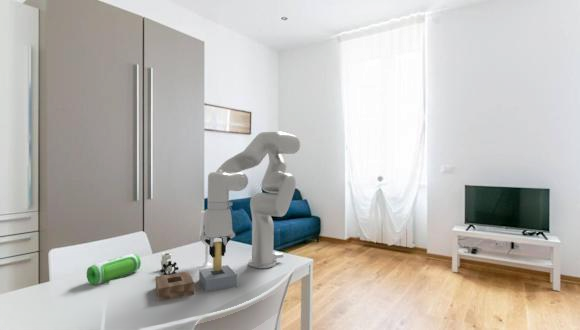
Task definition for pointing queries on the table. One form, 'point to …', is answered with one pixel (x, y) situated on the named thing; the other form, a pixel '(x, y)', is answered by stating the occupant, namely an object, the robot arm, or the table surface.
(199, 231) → the champagne flute
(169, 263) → the valve
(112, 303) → the table surface
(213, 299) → the table surface
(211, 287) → the socket
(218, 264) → the pin
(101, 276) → the speaker
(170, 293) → the mount
